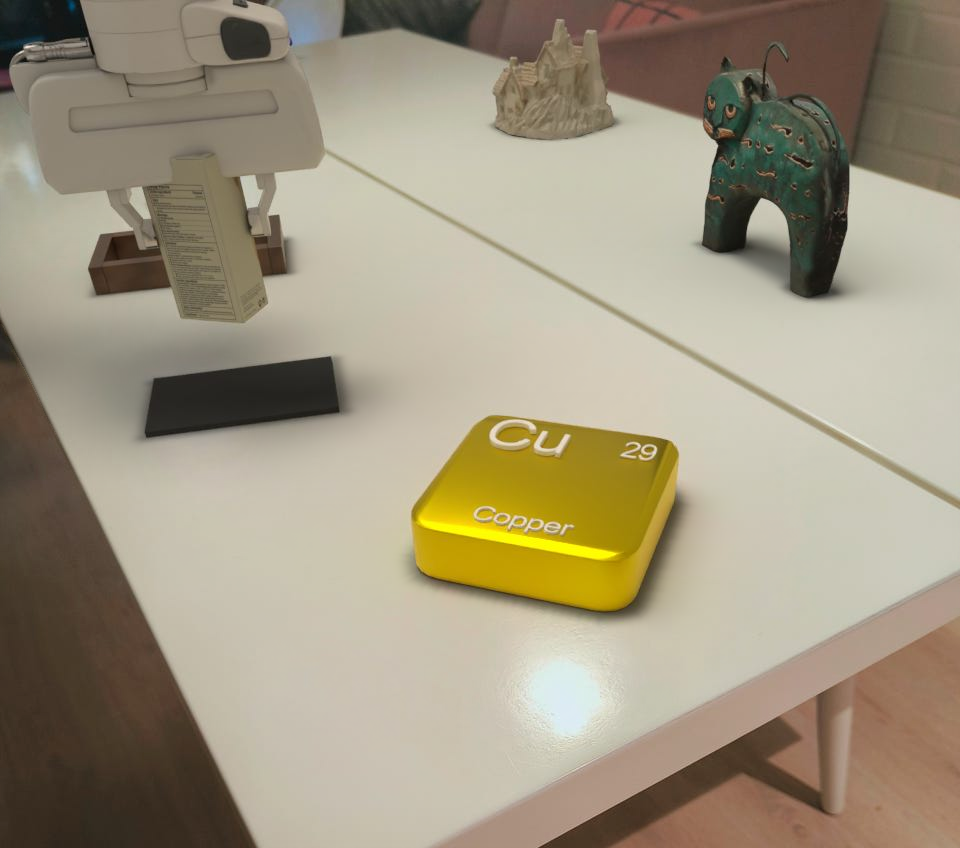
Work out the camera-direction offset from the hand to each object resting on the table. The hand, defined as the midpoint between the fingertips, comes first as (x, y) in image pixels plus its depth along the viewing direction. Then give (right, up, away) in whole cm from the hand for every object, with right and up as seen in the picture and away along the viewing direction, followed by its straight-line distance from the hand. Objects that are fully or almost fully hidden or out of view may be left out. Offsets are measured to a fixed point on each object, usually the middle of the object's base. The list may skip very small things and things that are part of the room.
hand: (206, 240), depth 73 cm
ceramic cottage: (+33, +48, +71) cm, 92 cm away
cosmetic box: (0, -4, +4) cm, 6 cm away
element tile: (+26, -24, -8) cm, 36 cm away
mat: (+1, -10, +9) cm, 13 cm away
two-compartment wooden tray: (-11, +11, +33) cm, 37 cm away
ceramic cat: (+51, +8, +26) cm, 58 cm away
